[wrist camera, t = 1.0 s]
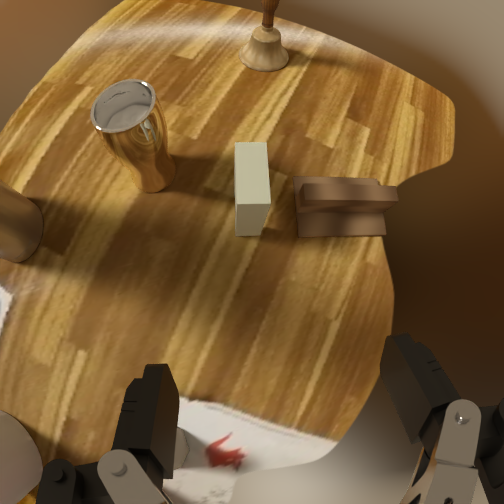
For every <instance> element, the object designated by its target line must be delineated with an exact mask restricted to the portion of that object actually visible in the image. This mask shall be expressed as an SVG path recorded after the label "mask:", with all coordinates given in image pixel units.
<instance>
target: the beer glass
mask: <svg viewBox="0 0 504 504" xmlns="http://www.w3.org/2000/svg"><path fill="white" fill-rule="evenodd" d="M90 117H91V121H92V123H93V125H94V126H95V129H96V131H97V133H98V135H99V137H100V139H101V141H102V143H103V144H104V146H105V148H106V149H107V150H108V152H109V153H110V154H111V155H112V156H113V157H114V158H115V159H116V160H117V161H118V162H119V163H120V164H122V165H123V166H124V167H125V168H127V169H128V170H129V171H130V172H131V177H132V180H133V183H134V184H135V186H136V187H137V188H138V189H140V190H141V191H144V192H148V193H154V192H159V191H161V190H163V189H165V188H166V187H168V186H169V185H170V184H171V182H172V181H173V179H174V177H175V174H176V164H175V162H174V160H173V158H172V157H171V156H170V155H169V153H168V135H167V125H166V121H165V116H164V113H163V111H162V108H161V105H160V103H159V101H158V98H157V96H156V94H155V90H154V89H153V87H152V86H151V85H150V84H149V83H147V82H145V81H143V80H139V79H127V80H123V81H119V82H117V83H114V84H112V85H111V86H109V87H108V88H106V89H105V90H104V91H102V92H101V93H100V94H99V96H98V97H97V98H96V100H95V101H94V103H93V105H92V108H91V113H90Z"/></svg>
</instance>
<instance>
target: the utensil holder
mask: <svg viewBox="0 0 504 504" xmlns="http://www.w3.org/2000/svg"><path fill="white" fill-rule="evenodd" d="M42 472H43V465H42V460H41V456H40V453H39V451H38V448H37V446H36V444H35V443H34V441H33V439H32V438H31V436H30V435H29V433H28V432H27V431H26V429H25V428H24V427H23V426H22V425H21V424H20V423H19V422H18V421H17V420H16V419H15V418H14V417H12V416H11V415H9V414H7V413H5V412H3V411H0V504H16V503H17V502H19V501H20V500H21V499H22V498H23V497H25V496H26V495H27V494H28V493H29V492H30V491H31V490H32V489H33V488H34V487H35V486H36V485H37V484H38V483H39V482H40V480H41V476H42Z"/></svg>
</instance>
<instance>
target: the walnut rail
mask: <svg viewBox="0 0 504 504" xmlns="http://www.w3.org/2000/svg"><path fill="white" fill-rule="evenodd" d="M293 185H294V195H295V205H296V216H297V228H298V237H339V236H385V235H386V228H385V221H384V215H383V213H384V212H385V211H386V210H388V209H389V208H390V207H392V206H393V205H394V204H395V203H397V202H398V196H397V191H396V186H382V185H378V181H377V179H369V178H346V177H307V176H294V177H293Z"/></svg>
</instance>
